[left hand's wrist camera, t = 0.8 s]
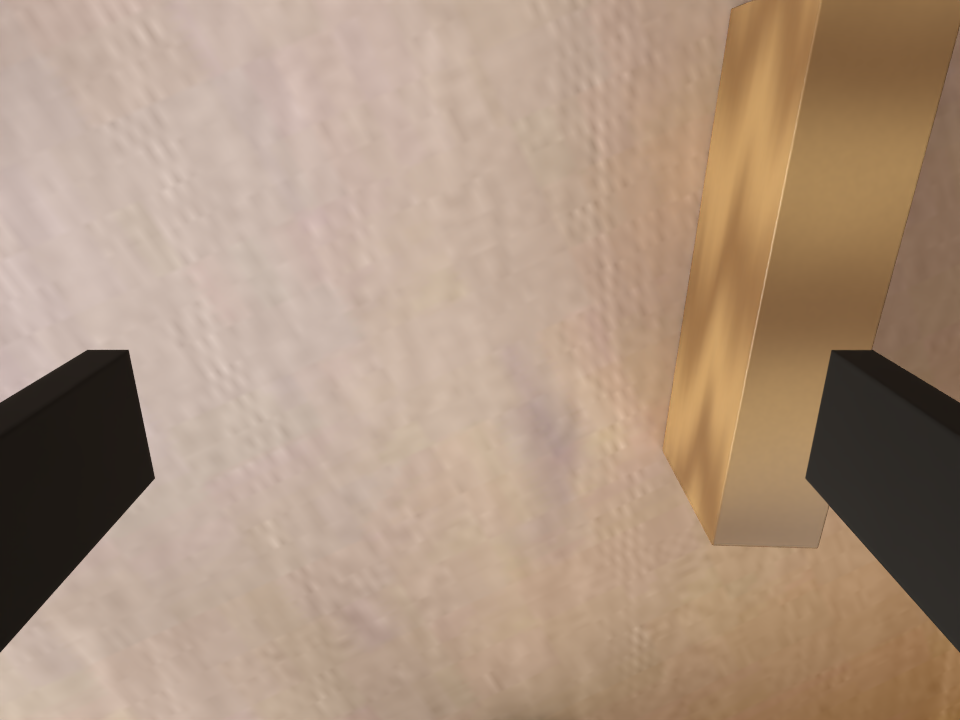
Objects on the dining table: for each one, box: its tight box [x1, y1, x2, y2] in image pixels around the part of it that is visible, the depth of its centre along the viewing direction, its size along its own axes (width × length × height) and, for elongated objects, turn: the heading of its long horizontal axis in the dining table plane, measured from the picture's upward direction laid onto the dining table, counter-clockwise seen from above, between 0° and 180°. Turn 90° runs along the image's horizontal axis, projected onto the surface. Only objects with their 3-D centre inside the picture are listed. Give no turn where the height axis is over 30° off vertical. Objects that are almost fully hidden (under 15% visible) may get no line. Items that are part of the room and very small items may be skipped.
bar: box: [663, 0, 960, 548], centre depth 30 cm, size 23×5×9 cm, turn 178°
